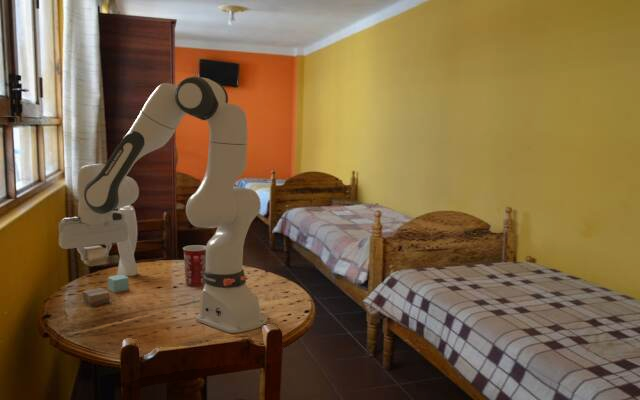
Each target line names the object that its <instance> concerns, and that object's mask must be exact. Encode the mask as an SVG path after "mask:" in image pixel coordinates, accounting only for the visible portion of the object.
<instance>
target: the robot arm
mask: <svg viewBox="0 0 640 400" xmlns="http://www.w3.org/2000/svg"><path fill="white" fill-rule="evenodd" d="M186 115H189V116H191V117H194V118H197V119H199V120H200V121H201V120H202V121H207V123H208V126H209V127H208V128H209V138H208V151H207V154H208V155H207V164H206V170H205V173H204V176H203V179H202V180H201V183H200V184H199V186H198V188H197V190H196V191H195V192H194V193H193V194H192V195H191V196H190V197H189V198H188V200H187V202H186V206H185V215H186V218H187V220H188V221H189V223H190V224H191V225H192V226H194V227H195V228H201V229H202V228H203V229H214V228H216V231H215V232H214V235H213V236H212V237H211V238H210V239H209V240H208V241H207V243H206V245H205V246H206V269H205V270H204V282H205V285H203V288H202V290H201V292H200V299H199V300H200V301H199V310H198V314H197V315H196V316H195V321H196V322H199V323H202V324H204V325H207V326H209V327H212V328H214V329H217V330H221V331H223V332H226V333H229V334H231V333H232V334H233V333H234V334H236V333H243V332H247V331H248V332H249V331H251V330H255V329H257V328H260V327H263V326H264V325H263V324H265V325H266V324H267V323H268V322H269V320H268V317H267V316H265V315H263V314H262V313H261V308H260V302H259V298H258V295H254V293H253V292H252V291H251V289H250V287H249V286H248V285H247V280H248V278H247V277H248V275H246V273H245V270H244V269H243V262H244V261H243V257H244V245H245V239H246V236H247V234H248V231H249V228H250V226H251V224H252V222H253V221H254V219H255V218H256V217H257V216H258V215H259V214H260V211H261V199H260V196H259V195H258V193H257V192H256V191H255V190H253V189H251V188H245V187H239V186H238V187H235V184H236V182H237V180H238V179H239V177H241V175H243V174H244V173H245V170H246V168H247V155H248V154H247V153H248V151H247V150H248V123H247V122H248V121H247V115H246V112H245V110H244V109H243V108H242V107H240V106H239V105H236V104H234V103H233V104H231V103H229V97H228V92H227V90H226V88H225V87H224V86H223V85H222V84H221V83H219V82H217V81H215V80H212V79H210V78H208V77H207V78H206V77H199V76H189V77H187V78H184V79H183V80H181V81H180V82H179V83H178V84H173V83H170V82H164V83H163V82H162V83H161V84H159V85H158V86H157V87H156V88H155V89H154V91H153V92H152V93H151V94H150V95H149V97H148V98H147V100H146V102H145V103H144V105H143V107H142V108H141V110H140V112H139V114H138V115H137V118H136V119H135V121H134V122H133V124H132V126H131V127H130V128H129V130H128V132H126V134H125V135H124V136H123V138H122V140H121V141H120V142H119V144H118V145H117V146H116V147H115V149H114V151H113V152H112V154H111V156H110V157H109V158H108V160H107V162H106V163H101V162H100V163H94V164H86V165H82V166H81V167H80V169H79V170H78V176H77V195H78V198H79V200H78V206H77V209H78V210H77V214H78V216H73V217H64V218H63V219H62V220H60V221H58V224H57V230H58V232H59V233H58V234H59V235H58V245H59V247H60V248H62V249H63V250H68V249H69V250H70V249H75V248H76V250H77V252H78V254H80V260H81V261H82V262H84V261H85V260H88V258H87V257H88V255H87V254H84V252H83V250H84V247H91V246H99V245H100V246H102V245H104V246H106V247H105V248H106V258H109V256H110V255H109V253H110V251H111V249H112V247H113V244H114V243H116V244H117V242H124V241H126V240H127V239H128V228H127V224H126V222H125V221H124V219H125V214H123V213H121V212H119V211H118V208H123V207H125V206H128V205H132V204H134V203H135V202H136V201H137V200H138V199H139V197H140V196H139V195H140V188H139V184H138V182H137V181H136V180H135V179H134V178H133V177H131V176H127V175H128V174H129V172H130V171H131V169H132V168H133V166H134V165H135V163H137V161H138V160H140V159H142V157H144V156H145V155H147V154H150V153H152V152H154V151H156V150H158V149H160V148H161V149H162V148H163V147H164V146H165V145H166V144H167V143H168V142H169V140H171V138H172V137H173V135H174V133H175V132H176V130H177V128H178V126H179V125H180V123H181V121H182V120H183V118H184V117H186ZM262 325H263V326H262Z"/></svg>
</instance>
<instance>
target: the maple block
mask: <svg viewBox="0 0 640 400" xmlns="http://www.w3.org/2000/svg"><path fill="white" fill-rule="evenodd" d="M82 251H83V253H84V254H87V255H88V257H87V258H88V260H85V261H83V264H85V265H86V266H88V267H95V266H102V265H106V264H107V257H106V247H104V246H102V245H93V246H85V247H84V250H82Z"/></svg>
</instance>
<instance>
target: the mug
mask: <svg viewBox="0 0 640 400" xmlns="http://www.w3.org/2000/svg"><path fill="white" fill-rule="evenodd" d="M182 251H183V261H184V262H183V263H184V278H185V285H186V286H188V287H201V286H204V285H205V282H204V270H205V269H206V245H200V244H197V245H196V244H194V245H193V244H192V245H186V246H184V247H182Z"/></svg>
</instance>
